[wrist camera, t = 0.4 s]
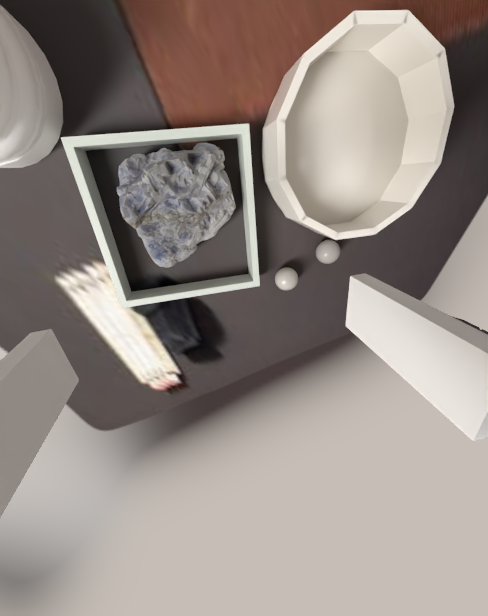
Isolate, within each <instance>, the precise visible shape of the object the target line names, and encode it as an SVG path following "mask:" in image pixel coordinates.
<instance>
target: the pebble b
mask: <svg viewBox="0 0 488 616" xmlns="http://www.w3.org/2000/svg"><path fill="white" fill-rule="evenodd" d="M339 255H340V247H339V245H338V244H337V243H336V242H335V241H333V240H325V241H323V242H321V243H320V244H319V245H318V246H317V249H316V257H317V259H318V260H319V261H320V262H322V263H325V264H329V263H333V262H334V261H336V260H337V259H338V257H339Z"/></svg>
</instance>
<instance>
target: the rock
mask: <svg viewBox="0 0 488 616" xmlns="http://www.w3.org/2000/svg"><path fill="white" fill-rule="evenodd" d="M224 160H225V157H224V153H223V150H220V148H219V147H216V145H213V144H207V143H198V144H197V145H196V146H195V147H194V148H193V150H182V151H174V152H173V151H171V150H169V149H166V148H162V149H160V150H159V151H157V152H153V153H151V154H148V155H146V156H145V155H144V154H134V155H132V156H131V157H130V158H128V159H125V160H124V161H123V162H122V163H121V164H120V165H119V169H118V170H119V173H118V175H119V180H120V186H119V187H117V194H118V195H119V196H120V199H119V201H120V211H121V213H122V216H123V218H124V219H125V221H126V222H127V223H128V224H130V225H131V226H132V227H133V228H135V229H136V230H137V233H138V235H139V237H141V238H142V240H143V242H144V245H145V247H146V249H147V251H148V253H149V255H150V256H151V258H152V259H153V261H154V262H155V263H156V264H157V265H159V266H161V267H165V268H167V267H171V266H174V264H176V263H177V262H180V261H182V260H184V259H186V258H187V257H189V256H190V255H191V254H192V253H193V252H194V251H196V248H197V246H196V244H198V243H199V242H200V241H202V240H207V239H209V238H211V237H213V236H215V235H216V233H217V232H218V229H219V228H221V227H222V226H223V225H224V224H225V223H226V222H227V221H228V220H229V219H230V218H231V215H232V214H233V212H234V209H235V208H236V206H235V201H234V197H233V193H232V189H231V184H230V181H229V178H228V176H227V173H226V172H225V171H224V170H223V169H224V167H225V166H224V163H223V161H224Z"/></svg>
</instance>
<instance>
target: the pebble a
mask: <svg viewBox="0 0 488 616" xmlns="http://www.w3.org/2000/svg"><path fill="white" fill-rule="evenodd" d="M275 282H276V285H277V286H278V287H279V288H280V289H282V290H291V289H293V288H294V287H295V286H296V284H297V282H298V275H297V273H296V271H295V270H293V269H292V268H289V267H285V268H282V269H280V270H279V271H278V272H277V273H276V276H275Z"/></svg>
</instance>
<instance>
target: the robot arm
mask: <svg viewBox="0 0 488 616" xmlns="http://www.w3.org/2000/svg"><path fill="white" fill-rule="evenodd" d="M346 327H347V328H348V329H349V330H351V331H352V332H353V333H354V334H355V335H356V336H358V337H359V339H361V340H362V341H363V342H364V343H365V344H366V345H367V346H368V347H369V348H371V349H372V350H373V351H374V352H375V353H376V354H377V355H378V356H379V357H381V358H382V359H383V360H384V361H385V362H386V363H387V364H388V365H389V366H390V367H392V368H393V369H394V370H395V371H396V372H397V373H398V374H399V375H400V376H402V377H403V378H404V379H405V380H406V381H407V382H408V383H409V384H410V385H412V386H413V387H414V388H415V389H416V390H417V391H418V392H419V393H420V394H421V395H423V396H424V397H425V398H426V399H427V400H428V401H429V402H430V403H432V404H433V405H434V406H435V407H436V408H437V409H438V410H439V411H440V412H441V413H443V414H444V415H445V416H446V417H447V418H448V419H449V420H450V421H451V422H453V423H454V424H455V425H456V426H457V427H458V428H459V429H460V430H462V431H463V432H464V433H465V434H466V435H467V436H468V437H469V438H470V439H471V440H472V441H476V440H479V439H483V438H486V437H488V332H487V331H485V330H480V329H479V327H477V326H474V325H472V324H470V323H468V322H466V321H464V320H461V319H458V318H454V317H451V316H449V315H447V314H445V313H443V312H441V311H439V310H437V309H435V308H433V307H431V306H429V305H427V304H425V303H423V302H421V301H419V300H417V299H415V298H413V297H411V296H409V295H407V294H405V293H403V292H401V291H399V290H397V289H395V288H393V287H391V286H389V285H387V284H385V283H383V282H381V281H379V280H377V279H375V278H373V277H371V276H369V275H367V274H359V275H354V276H350V284H349V295H348V305H347V316H346ZM78 381H79V379H78V377H77V375H76V374H75V372H74V370H73V368H72V366H71V364H70V363H69V361H68V359H67V357H66V355H65V353H64V352H63V350H62V348H61V346H60V344H59V342H58V340H57V339H56V337H55V335H54V333H53V331H52V329H49V330H44V331H38V332H32V333H30V334H29V335H28V336H27V337H26V338H25V339H24V340H23V341H21V342H20V343H19V344H18V345H17V346H16V347H15V348H14V349H13V350H12V351H11V352H9V353H8V354H7V355H6V356H5V357H4V358H3V359H2V360H1V361H0V517H1V515H2V513H3V512H4V510H5V508H6V507H7V505H8V503H9V501H10V500H11V498H12V496H13V494H14V492H15V491H16V489H17V487H18V486H19V484H20V482H21V480H22V479H23V477H24V475H25V473H26V472H27V470H28V468H29V467H30V465H31V463H32V461H33V460H34V458H35V456H36V454H37V452H38V451H39V449H40V447H41V445H42V444H43V442H44V440H45V439H46V437H47V435H48V433H49V432H50V430H51V428H52V426H53V425H54V423H55V421H56V419H57V418H58V416H59V414H60V412H61V411H62V409H63V407H64V406H65V404H66V402H67V400H68V399H69V397H70V395H71V393H72V392H73V390H74V388H75V386H76V385H77V383H78Z"/></svg>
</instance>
